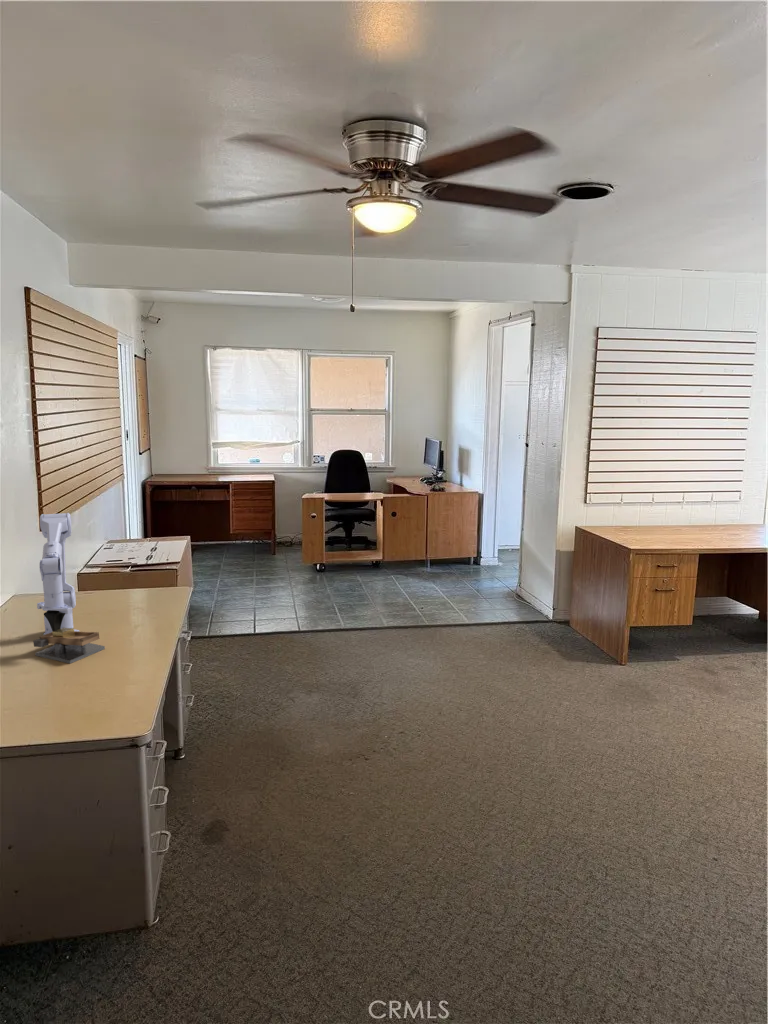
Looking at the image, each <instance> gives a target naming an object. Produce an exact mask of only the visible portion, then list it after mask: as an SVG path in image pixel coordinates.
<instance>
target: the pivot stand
mask: <svg viewBox="0 0 768 1024" xmlns="http://www.w3.org/2000/svg"><path fill="white" fill-rule="evenodd" d="M105 647H106V646H105V645H101V644H95V643H92V642H90V643H88V644H85V645H83V646H81V645H64V644H60V643H55V644H53V645H52V646H50V647H49V646H48V648H47V647H46V648H44V649H42V650H41V649H40V650H39V651H35V656H36V657H38V658H39V657H41V658H44V659H49V660H53V661H57V662H62V663H65V664H66V663H67V664H73V663H75V662H77V661H79V660H82V659H84V658H87V657H89V656H91V655H94V654H96V653H99V652H100V651H103V650H105Z"/></svg>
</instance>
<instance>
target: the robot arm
mask: <svg viewBox="0 0 768 1024" xmlns="http://www.w3.org/2000/svg"><path fill="white" fill-rule="evenodd" d="M39 527H40V530H41V534H42V536H43V538H45V539H47V542H46V543H44V545H43V547H42V559H40V560H39V573H40V577H41V581H42V589H43V600H44V601H40V602H37V603H36V607H37V608H36V609H37V610H42V611H46V612H43V621H44V623H43V624H44V633H43V635H46V634H48V633H51V632H53V631H56V630H59V629H61V628H74V617H73V616H74V615H73V612H74V611H73V609H75V608H76V605H77V603H76V601H77V598H76V590H75V587H74V586H73V585H71V584H70V583H69V582H67V571H66V570H67V569H66V568H67V567H66V541H67V539H68V538H69V537H71V536H72V533H73V532H72V515H71V514H70V513H69V512H63V513H48V514H44V513H42V514H41V515H40V516H39ZM74 631H80V630H79V629H75V628H74ZM43 635H42V636H43Z"/></svg>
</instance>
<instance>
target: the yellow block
mask: <svg viewBox="0 0 768 1024" xmlns="http://www.w3.org/2000/svg"><path fill="white" fill-rule="evenodd" d="M74 629H75V628H74V627H73V628H61V629H59V630H56V631H53V632H52V634H53V637H65V638H69V637H72V636H75V633H74Z"/></svg>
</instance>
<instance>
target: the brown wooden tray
mask: <svg viewBox="0 0 768 1024" xmlns="http://www.w3.org/2000/svg"><path fill="white" fill-rule="evenodd" d="M74 633H75V636H72V637H69V638H65V637H53V634H52V632H51V633H48V634H46V635H40V636H39V638H38V639H34V640H33V641H32V642H33V643H32V644H33V647H36V648H43V647H44V648H45V647H47V646H49V644H50V645H54V644H55V643H60V644H64V645H81V646H83V645H85V644H88V643H92V642H93V643H94V642H95V641H98V640H99V639H100V633H99V631H98V632H97V631H96V632H95V631H80V630H79V631H74Z"/></svg>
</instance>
